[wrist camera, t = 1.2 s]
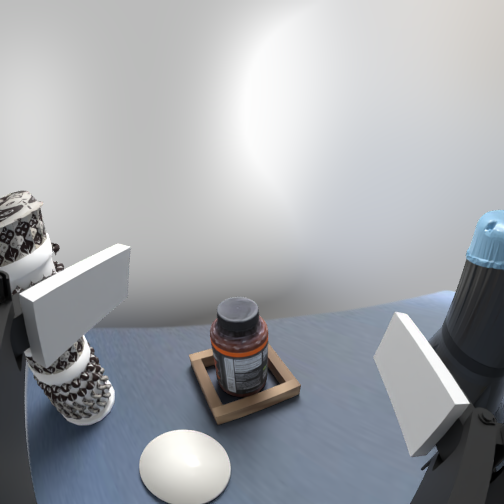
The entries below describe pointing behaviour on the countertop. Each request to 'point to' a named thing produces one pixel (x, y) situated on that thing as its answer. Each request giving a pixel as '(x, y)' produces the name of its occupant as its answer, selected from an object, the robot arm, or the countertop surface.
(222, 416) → the holder
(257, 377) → the supplement bottle
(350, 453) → the countertop surface
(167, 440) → the white domed disc
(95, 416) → the decorative candle
